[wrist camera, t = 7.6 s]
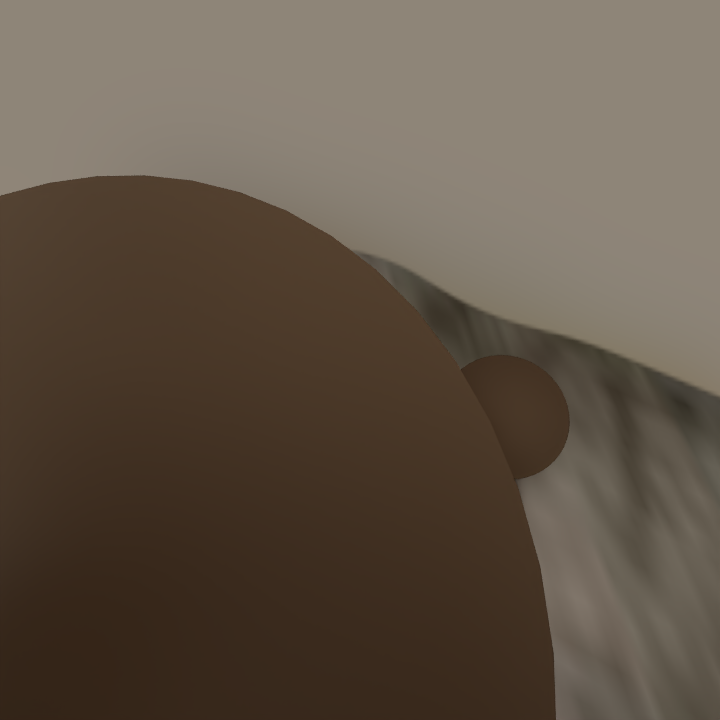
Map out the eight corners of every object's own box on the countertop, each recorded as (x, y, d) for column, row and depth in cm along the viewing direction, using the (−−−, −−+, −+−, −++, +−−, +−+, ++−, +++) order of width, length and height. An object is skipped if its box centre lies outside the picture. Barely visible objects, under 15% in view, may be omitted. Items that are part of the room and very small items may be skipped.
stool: (388, 615, 13) (217, 2113, 1) (227, 532, 15) (-633, 892, 3) (454, 436, 14) (692, 335, 2) (299, 373, 16) (-61, 98, 4)
